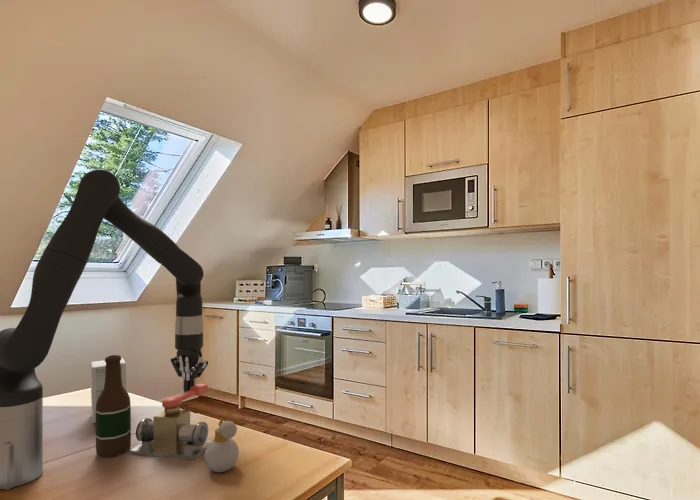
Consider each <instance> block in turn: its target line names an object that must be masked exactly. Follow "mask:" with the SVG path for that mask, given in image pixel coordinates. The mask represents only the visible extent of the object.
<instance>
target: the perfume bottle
mask: <svg viewBox="0 0 700 500" xmlns="http://www.w3.org/2000/svg"><path fill="white" fill-rule="evenodd" d="M237 430H238V428H237V425H236V424H235V423H234V422H233V421H231V420H225V421H224V419H223V417H220V419H219V422H218V428H216V429H214V438H213V440H211V441H212V442H210V444H209V445H208V446H207V448H206V451H204V461H205V462H204V463H205V464H206V466H207V468H208V469H210V470H211V471H212V472H216V473H222V472H223V473H225V472H226V471H230V469H232V468H233V467H234V466H235V464H236V463H237V461H238V458H239V453H240V452H239V446H238V444H237V442H236V441H235V440H234V439H233V437H235V436H236V434H237Z"/></svg>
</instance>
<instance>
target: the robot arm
mask: <svg viewBox="0 0 700 500" xmlns="http://www.w3.org/2000/svg"><path fill="white" fill-rule="evenodd" d="M120 194H121V185H120V181H119V179H118V178H117V176H116V175H115V174H114V173H113V172H111V171H109V170H107V169H103V168H97V169H93V170H90V171H88V172H86V173H85V174H84V175H83V176H82V177H81V179H80V181H79V184H78V188H77V190H76V194H75V197H74V199H73V201H72V205H71V206H70V209H69V211H68V213H67V214H66V216H65V217H64V218H63V221H62V222H61V223H60V225H59V226H58V227H57V229H56V231H55V232H54V233H53V235H52V236H51V239H50V240H49V242H48V244H47V245H46V246H45V249H44V250H43V252H42V254H41V256H40V258H39V260H38V262H37V264H36V265H35V268H34V272H33V275H32V281H31V291H30V292H31V294H30V299H29V303H28V305H27V308H26V310H25V312H24V314H23V315H22V317H21V319H20V320H19V322H18V324H17V326H16V327H9V328H5V329H2V330H0V490H6V491H9V490H11V489H12V488H15V487H19V486H21V485H24V484H28V483H30V482H33V481H35V480H36V479H38V478H40V476H41V475H43V473H44V468H43V464H44V463H43V462H44V448H43V447H44V445H43V443H44V441H43V439H44V433H43V431H44V427H43V425H44V424H43V421H44V419H43V418H44V415H43V414H44V412H43V410H44V409H43V408H44V405H43V404H44V403H43V402H44V398H43V397H44V394H43V393H44V391H43V390H44V389H43V387H44V386H43V384H42V383H41V382H40V380H39V379H38V377H37V373H36V368H37V367H39V366H40V365H41V364H42V363H43V362H44V361H45V359H46V358H47V356H48V355H49V352H50V349H51V347H52V345H53V341H54V338H55V335H56V332H57V329H58V326H59V324H60V321H61V318H62V316H63V313H64V311H65V309H66V307H67V305H68V303H69V301H70V299H71V297H72V294H73V292H74V289H75V288H76V286H77V284H78V282H79V281H80V278H81V276H82V275H83V272H84V270H85V268H86V266H87V264H88V261H89V258H90V257H91V254H92V251H93V249H94V246H95V242H96V238H97V235H98V233H99V229H100V227H101V225H102V222H103V221H104V220H106V221H107V222H108V223H110V224H111V225H113V226H114V227H115V228H117V229H118V230H119V231H121V232H122V233H124V235H126V236H127V237H128V238H129V239H130V240H132V241H133V242H134V243H135V244H136V245H138V246H139V247H140V248H141V249H142V250H143V251H144V252H145V253H147V255H149V256H150V257H151V258H152V259H153V260H154V261H156V262H157V263H158V264H160V265H161V266H163V267H164V268H165V269H166V270H167V271H168V272H169V273H170V274H171V275H172V276H173V277H174V278H175V289H176V304H175V323H174V348H175V349H176V355H175V356H174V357H172V358H170V362H171V365H172V366H173V367H172V368H173V369H174V371H175V372H176V375H177V377H179V378H181V379H182V380H183V384H182V385H183V393H185V392H187V391H189V390H190V387H192V386H194V385H195V380H196V379H197V378H198V379H199V378H200V377H201V376H202V375H203V373H204V371H205V369H206V368H207V367H208V364H209V362H208V360H204V359H203V354H202V348H203V347H204V319H203V297H202V294H201V293H202V291H201V288H202V284H201V283H202V281H203V278H204V269H203V267H202V265H201V264H200V263H198V262H197V260H196V259H194V258H192V256H190V254H188V253H186V252H185V251H184V250H183V249H182V248H180V247H179V245H178V244H177V243H176V242H175V241H174V240H173V239H171V238H170V237H169V235H167V234H166V233H165V232H164V231H163V230H161V229H160V228H159V227H157V226H156V225H155V224H153V223H151V222H149V221H148V220H146V219H144V218H143V217H141V216H140V215H139V214H136V213H135V211H133V210H132V209H130V208H129V207H128V206H127V204H126V203H124V202H123V200H122V199H121V198H120V197H119V196H120Z"/></svg>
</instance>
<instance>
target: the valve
mask: <svg viewBox="0 0 700 500" xmlns="http://www.w3.org/2000/svg"><path fill="white" fill-rule="evenodd" d="M180 406H181V405H179V406H176V407H170V408H166V407H163V408H164V410H163V411H162V412H160V413H158V414H156V415H154V416H153V419H152V418H150V417H145V418H142V419H141V420H140V421H139V422H138V424H137V426H136V430H135V438H136V440H137V441H139V442H141V443H139V444H138V445H136V446H134V447H133V448H130V449H128V451H129V454H130V455H138V456H140V455H141V456H147V457H148V456H150V457H159V458H160V457H162V458H172V459H173V458H175V459H184V460H195V459H197V458H199V456H201V455H202V454H203V453H205V451H206V448H207V446H208V445H209V444H210V442H212V441H213V440H207V438H208V435H209V424H208V423H207V422H206V421H199V422H198V423H196V424H191V409H182V408H180Z"/></svg>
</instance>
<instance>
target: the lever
mask: <svg viewBox="0 0 700 500" xmlns="http://www.w3.org/2000/svg"><path fill="white" fill-rule="evenodd" d="M208 389H209V388H208V384H207V383H197V384H194V386H192V387H190V390H189V391H187V392H185V393H184V392H183V393H181V394H178V395H175V396H174V395H173V396H168V397H164V398H162V399H161V401H162V402H161V405H162V408H164V407H166V408H170V407H176V406H179V405H180V406H181V405H182V403H183V401H184V400H186V399H189V398H191V397H192V396H200V395H203V394H205V393H207V392H208Z"/></svg>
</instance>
